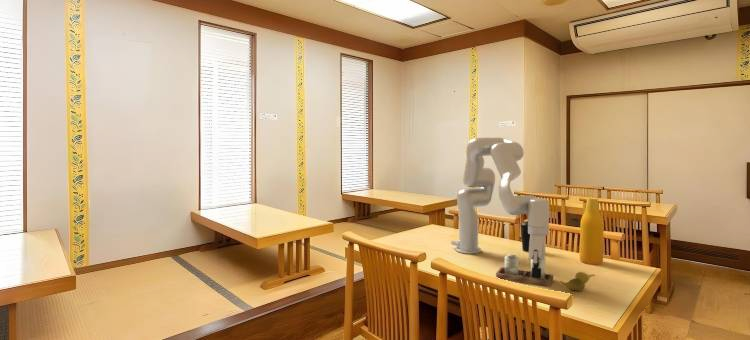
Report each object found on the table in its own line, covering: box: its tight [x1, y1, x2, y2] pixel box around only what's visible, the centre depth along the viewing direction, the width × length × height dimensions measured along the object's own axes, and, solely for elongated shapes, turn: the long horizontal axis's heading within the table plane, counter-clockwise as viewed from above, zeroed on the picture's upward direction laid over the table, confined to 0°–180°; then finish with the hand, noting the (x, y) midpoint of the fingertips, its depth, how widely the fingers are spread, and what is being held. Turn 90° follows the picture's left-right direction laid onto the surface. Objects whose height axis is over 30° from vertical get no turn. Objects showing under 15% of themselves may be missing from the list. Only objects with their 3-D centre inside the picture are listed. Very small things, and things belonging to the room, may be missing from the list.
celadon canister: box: [530, 257, 546, 280], centre depth 152 cm, size 5×5×9 cm
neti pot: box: [559, 271, 596, 291], centre depth 142 cm, size 4×15×6 cm, turn 104°
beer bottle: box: [579, 197, 605, 266], centre depth 174 cm, size 9×9×29 cm
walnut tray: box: [495, 253, 554, 288], centre depth 154 cm, size 20×9×9 cm, turn 59°
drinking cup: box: [519, 220, 530, 253], centre depth 194 cm, size 8×8×20 cm
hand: (537, 275), depth 152 cm, fingers closed on celadon canister, 5 cm apart
